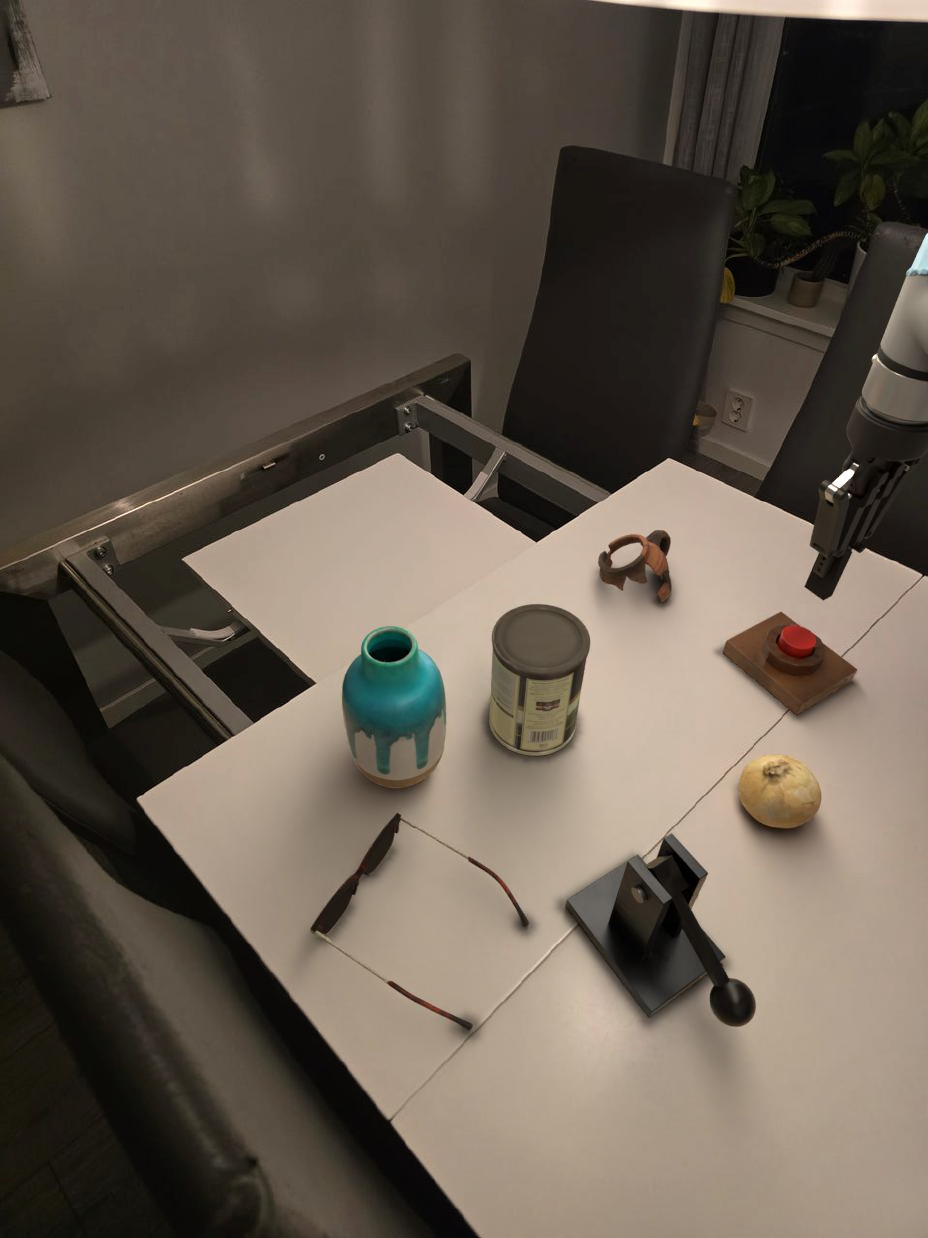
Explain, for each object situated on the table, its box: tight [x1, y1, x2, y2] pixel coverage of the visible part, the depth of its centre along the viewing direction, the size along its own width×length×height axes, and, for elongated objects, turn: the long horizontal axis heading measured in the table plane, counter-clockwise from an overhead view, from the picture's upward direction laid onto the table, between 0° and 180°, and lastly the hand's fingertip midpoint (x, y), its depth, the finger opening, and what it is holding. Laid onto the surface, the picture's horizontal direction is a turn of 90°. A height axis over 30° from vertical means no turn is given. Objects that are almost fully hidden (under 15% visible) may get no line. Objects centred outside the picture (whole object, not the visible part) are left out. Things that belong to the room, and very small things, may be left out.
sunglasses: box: [309, 812, 530, 1030], centre depth 72 cm, size 14×16×5 cm
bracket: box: [565, 833, 726, 1018], centre depth 69 cm, size 12×9×13 cm
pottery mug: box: [597, 529, 673, 604], centre depth 108 cm, size 12×10×8 cm
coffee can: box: [488, 603, 591, 757], centre depth 87 cm, size 10×10×14 cm
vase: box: [341, 625, 448, 789], centre depth 80 cm, size 11×11×19 cm
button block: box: [722, 611, 859, 716], centre depth 97 cm, size 12×10×4 cm
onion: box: [738, 754, 822, 830], centre depth 81 cm, size 8×8×7 cm
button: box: [778, 625, 816, 659], centre depth 95 cm, size 4×4×2 cm
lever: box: [645, 855, 757, 1028], centre depth 65 cm, size 14×4×4 cm, turn 32°
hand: (818, 591), depth 89 cm, fingers closed
